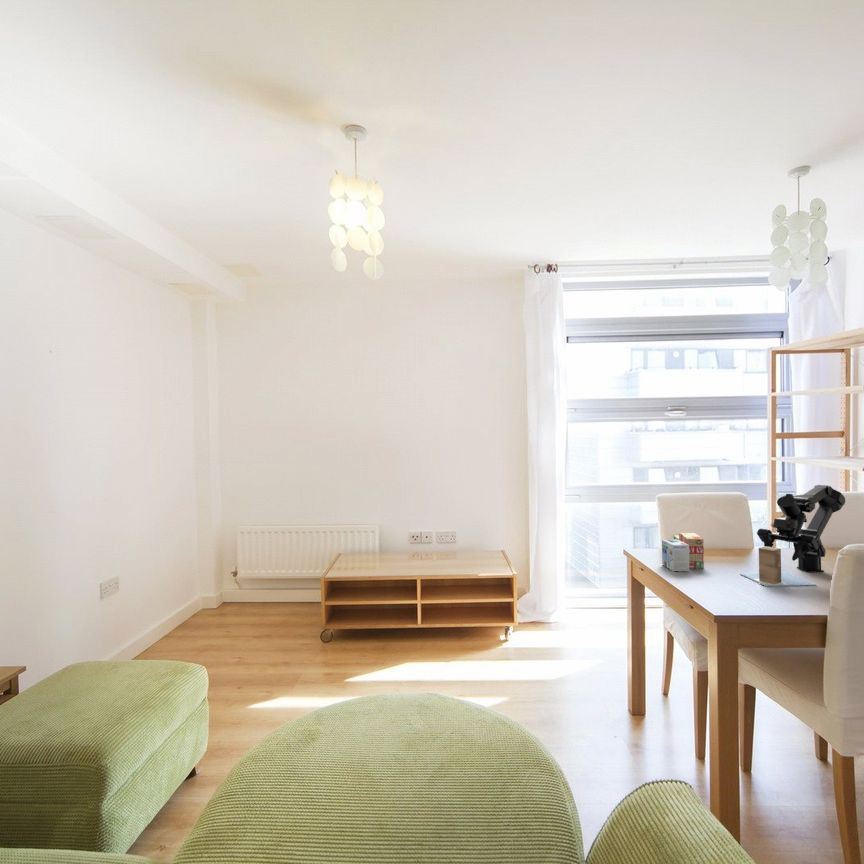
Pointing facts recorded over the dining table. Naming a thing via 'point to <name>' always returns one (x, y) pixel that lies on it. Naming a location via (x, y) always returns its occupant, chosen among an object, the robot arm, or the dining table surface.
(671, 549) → the light bulb box
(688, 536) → the stack of blocks
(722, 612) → the dining table surface
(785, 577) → the board
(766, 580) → the walnut column
